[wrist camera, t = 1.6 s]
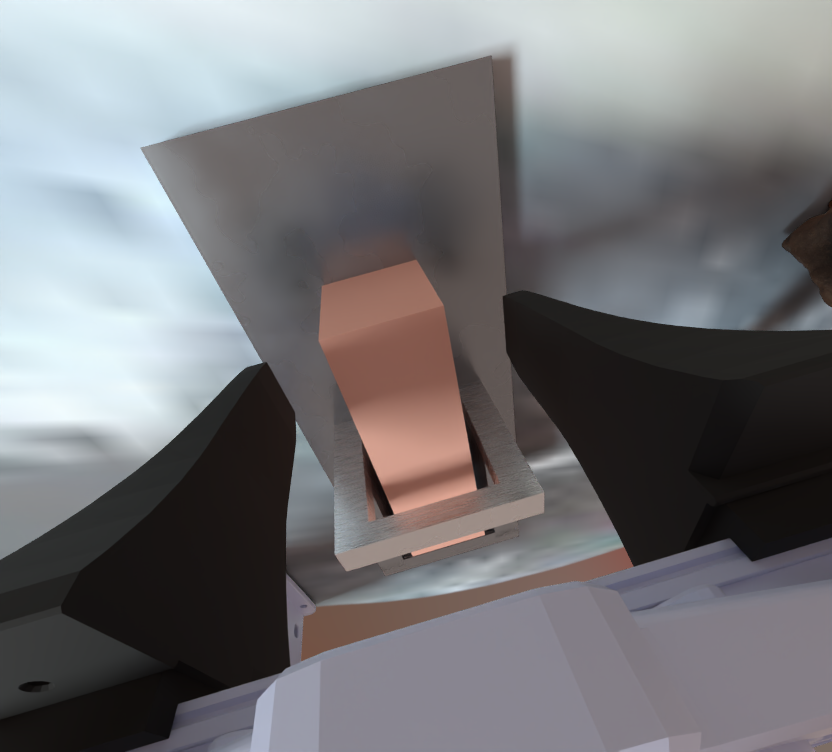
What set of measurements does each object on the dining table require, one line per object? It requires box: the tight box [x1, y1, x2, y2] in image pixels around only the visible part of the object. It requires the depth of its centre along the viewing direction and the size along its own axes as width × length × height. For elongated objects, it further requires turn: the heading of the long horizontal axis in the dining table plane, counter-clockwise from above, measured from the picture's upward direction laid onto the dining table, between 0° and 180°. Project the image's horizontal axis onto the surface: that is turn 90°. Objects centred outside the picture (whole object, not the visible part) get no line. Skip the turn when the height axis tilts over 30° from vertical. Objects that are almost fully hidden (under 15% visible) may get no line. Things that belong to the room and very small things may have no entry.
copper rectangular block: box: [318, 260, 485, 556], centre depth 15 cm, size 12×4×4 cm, turn 12°
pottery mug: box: [782, 200, 832, 307], centre depth 16 cm, size 12×10×8 cm
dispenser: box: [141, 56, 544, 576], centre depth 14 cm, size 19×10×7 cm, turn 12°
